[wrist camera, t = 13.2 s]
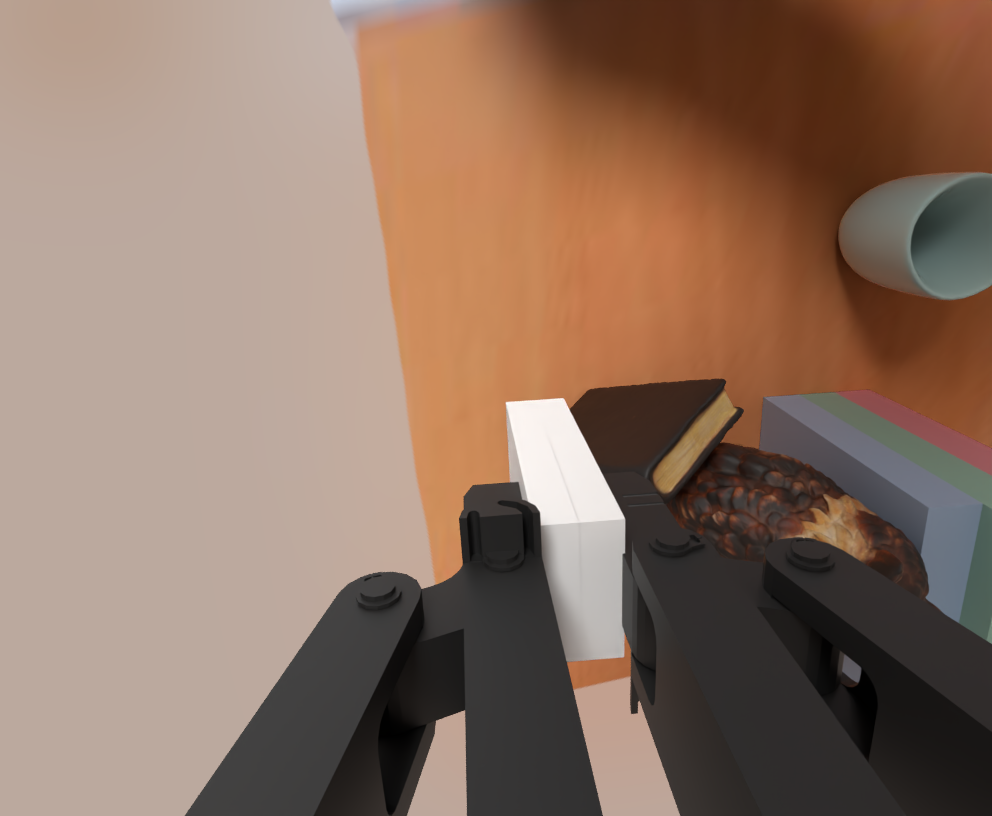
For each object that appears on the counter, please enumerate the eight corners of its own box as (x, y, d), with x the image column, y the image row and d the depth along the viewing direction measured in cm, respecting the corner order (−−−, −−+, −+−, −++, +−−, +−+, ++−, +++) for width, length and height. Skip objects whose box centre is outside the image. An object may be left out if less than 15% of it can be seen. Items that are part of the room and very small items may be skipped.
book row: (763, 397, 54) (955, 526, 33) (869, 389, 54) (1126, 512, 33) (750, 564, 59) (909, 767, 38) (846, 556, 59) (1057, 754, 38)
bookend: (511, 459, 49) (799, 497, 27) (602, 374, 54) (917, 349, 31) (606, 596, 54) (924, 725, 32) (684, 508, 58) (1014, 569, 36)
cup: (934, 246, 51) (1044, 258, 41) (844, 299, 52) (930, 323, 42) (900, 155, 48) (1007, 146, 39) (806, 213, 49) (888, 218, 40)
